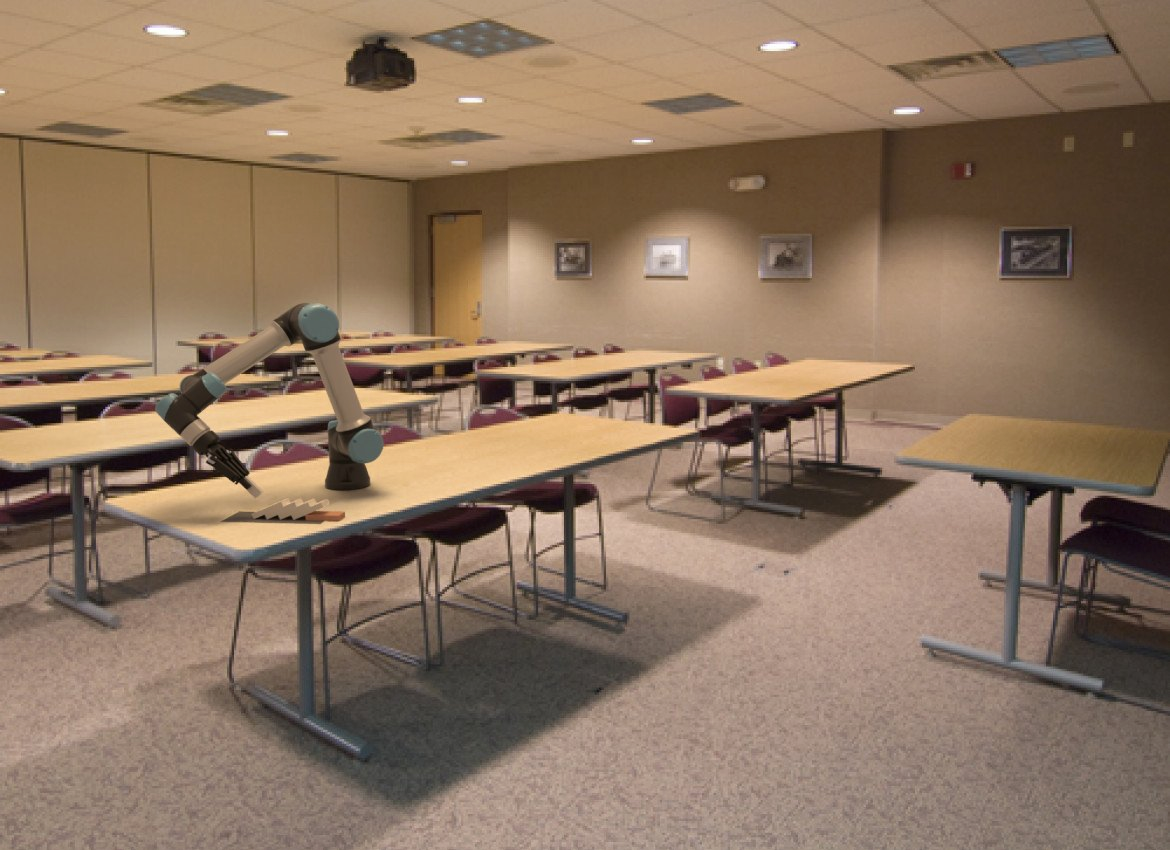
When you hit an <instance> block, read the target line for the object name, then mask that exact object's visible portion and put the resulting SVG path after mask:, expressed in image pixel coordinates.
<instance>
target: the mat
mask: <svg viewBox="0 0 1170 850" xmlns="http://www.w3.org/2000/svg"><path fill="white" fill-rule="evenodd" d="M255 512H256V511H242V510H241V511H238V512H235V513H234V514H232V515H230V516H228V517H226V518H224V519H222V520H220V521H219V522H220V523H253V524H254V523H256V524H257V523H258V524H259V523H260V524H294V525H296V524H298V525H299V524H302V525H303V524H304V525H305V524H306V525H308V524H309V525H321V524H323V523H324V522H325V521H312V520H306V515H304V516H302V517H300V518H297V519H295V520H293V518H292V516H291V515H290V516H288V517H286V518H283V519H281V520H280V518H279V516H278V515H276V516H274V517H272V518H269V519H266V516H265V515H262V516H260V517H258V518H255V519H253V516H252V514H253V513H255Z"/></svg>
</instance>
